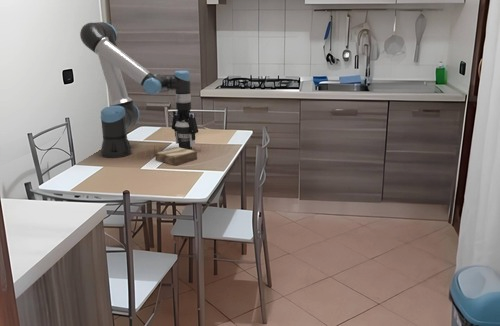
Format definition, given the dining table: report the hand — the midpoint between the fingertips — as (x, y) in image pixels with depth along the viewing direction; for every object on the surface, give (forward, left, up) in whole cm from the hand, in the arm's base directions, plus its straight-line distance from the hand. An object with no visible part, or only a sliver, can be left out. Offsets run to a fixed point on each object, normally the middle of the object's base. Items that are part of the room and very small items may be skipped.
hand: (185, 144), depth 254 cm
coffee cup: (0, 0, -3) cm, 3 cm away
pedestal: (+10, -16, -3) cm, 19 cm away
